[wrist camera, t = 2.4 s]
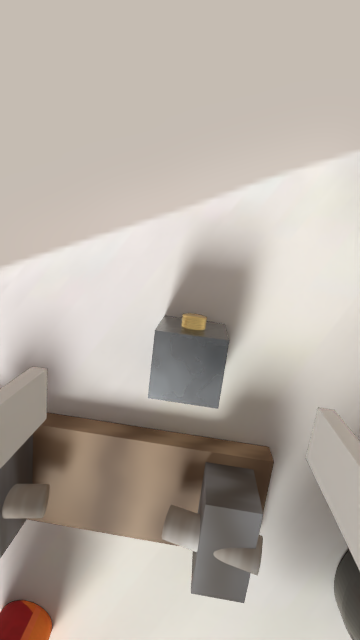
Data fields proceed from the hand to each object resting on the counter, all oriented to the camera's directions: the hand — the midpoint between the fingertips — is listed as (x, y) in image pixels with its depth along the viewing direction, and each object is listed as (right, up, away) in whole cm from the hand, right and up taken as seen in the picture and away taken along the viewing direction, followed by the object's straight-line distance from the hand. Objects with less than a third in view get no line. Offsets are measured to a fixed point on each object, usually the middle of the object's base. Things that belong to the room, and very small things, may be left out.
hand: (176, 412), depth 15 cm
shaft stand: (-5, -10, +14) cm, 18 cm away
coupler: (+1, +2, +11) cm, 11 cm away
